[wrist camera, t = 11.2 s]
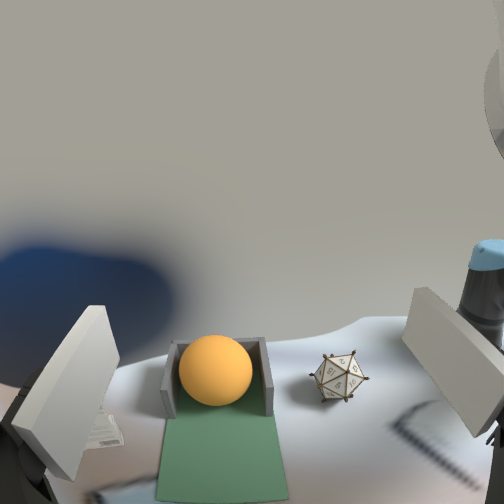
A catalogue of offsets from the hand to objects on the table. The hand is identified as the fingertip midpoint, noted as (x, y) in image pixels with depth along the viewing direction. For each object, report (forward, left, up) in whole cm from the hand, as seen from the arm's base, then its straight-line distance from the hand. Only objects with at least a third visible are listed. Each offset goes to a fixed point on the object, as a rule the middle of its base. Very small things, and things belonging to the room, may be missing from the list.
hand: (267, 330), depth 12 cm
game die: (-14, -23, -30) cm, 40 cm away
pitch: (+4, -18, -30) cm, 35 cm away
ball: (+5, -24, -24) cm, 35 cm away
